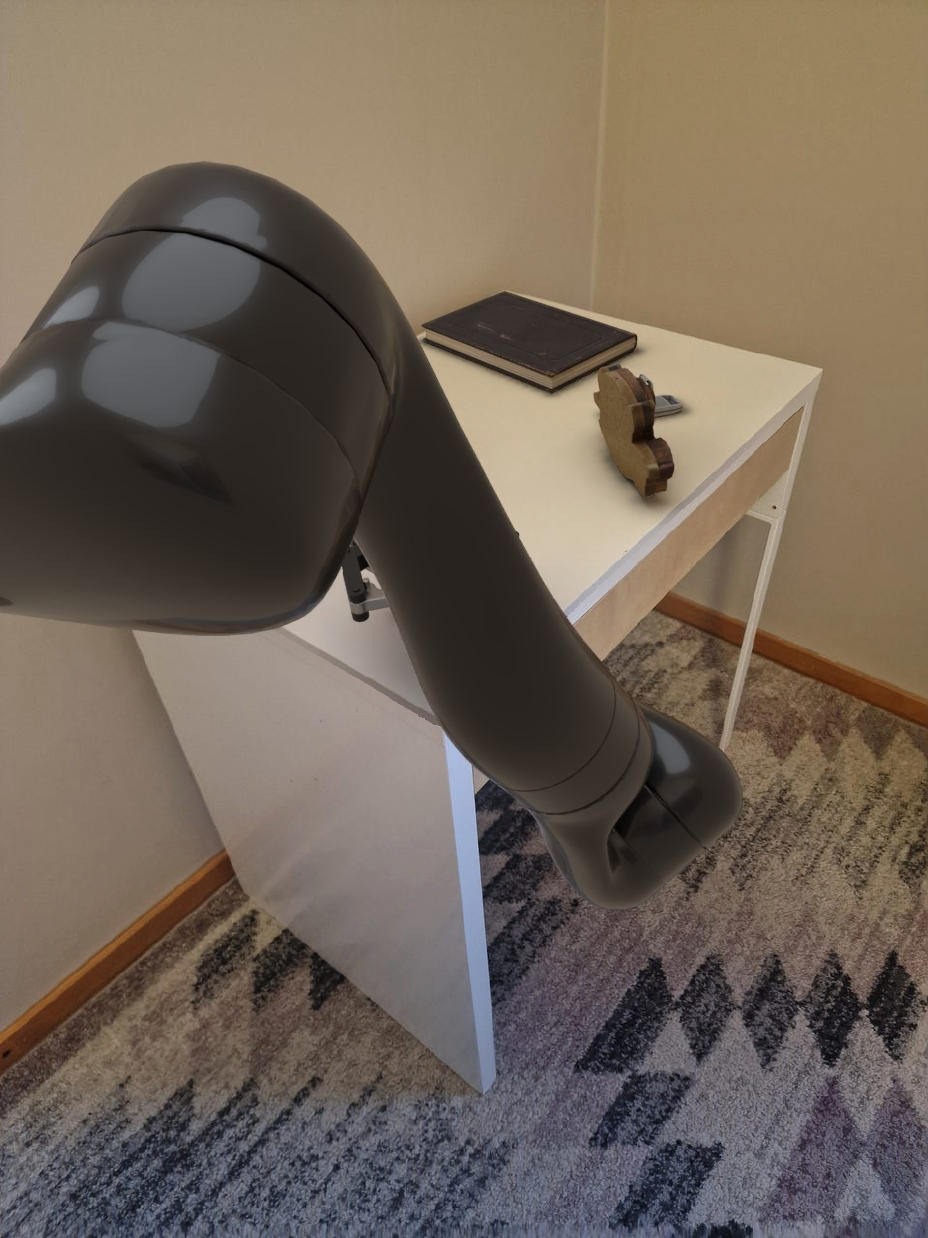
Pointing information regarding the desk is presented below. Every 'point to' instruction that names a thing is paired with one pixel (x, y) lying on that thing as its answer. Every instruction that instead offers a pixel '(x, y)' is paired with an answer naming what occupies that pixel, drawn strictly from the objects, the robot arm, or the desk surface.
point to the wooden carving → (633, 429)
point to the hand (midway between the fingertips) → (383, 511)
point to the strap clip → (664, 402)
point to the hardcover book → (529, 340)
